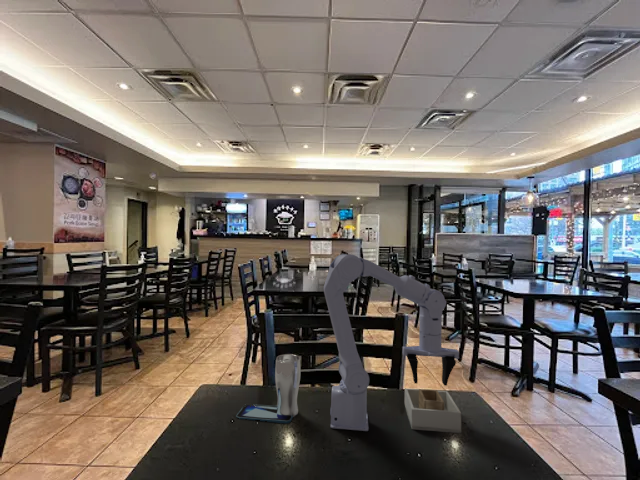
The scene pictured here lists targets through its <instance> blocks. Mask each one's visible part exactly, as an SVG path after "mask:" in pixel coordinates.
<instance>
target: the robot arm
mask: <svg viewBox="0 0 640 480" xmlns="http://www.w3.org/2000/svg"><path fill="white" fill-rule="evenodd" d="M359 277H372V278H374V279H376V280H378V281H380V282H382V283H384V284H386V285H389V286H391V287H393V288H394V291H395V294H397V295H398V296H400V297H402V298H404V299H406V300H408V301H410V302H412V303H414V304H415V305H418V306H419V329H418V330H419V333H418V334H419V335H418V336H419V341H418V345H413V346H412V345H411V346H405V345H403V346H402V355H403V356H404V357H406V358H407V361H408V363H409V366H410V369H411V373H412V379H413V383H414V384H418V364H419V360H418V357H419V356H421V357H435V358H441V362H442V363H441V367H442V368H441V369H442V371H441V372H442V373H441V382H442V384H443V386H448V382H449V378H450V375H451V373H452V370H453V369H454V367H455V366H456V363H457V361H456V360H457V359H459V360H460V352H459V350H458V349H457V348H456V349H455V348H454V349H453V348H447V347H442V333H443V332H442V330H443V329H442V327H443V325H442V324H443V322H442V319H443V317H442V316H443V311H444V309H445V308H446V305H447V300H446V299H445V296H444V295H443V293H442V292H441V291H439V290H437V289H433V288H430V284H427V283H423V282H420V281H419V280H417V279H416V277H415V276H413V275H411V274H408V275H407V274H404V275H402V276H398V275H396V273H395V274H394V273H393V272H392V271H389V270H388V269H386V268H384V267H382V266H380V265H378V264H376V263H375V262H373V261H371V260H368V259H365V258H363V257H359V256H357V255H355V254H346V253H342V254H338V255H337V256H336V257H335V258H334V259H333V260H332V262H330V264H329V268H328V272H327V275H326V278H325V282H324V285H323V294H324V298H325V301H326V305H327V309H328V314H329V318H330V323H331V326H332V331H333V334H334V338H335V342H336V346H337V350H338V359H339V364H338V373H339V374H340V376H341V380H340V382H339V384H338V385H332V387H331V399H330V400H331V401H330V402H331V403H330V408H329V409H330V412H329V413H330V414H329V415H330V428H331V429H337V430H351V431H360V432H362V431H363V432H368V431H369V417H368V412H367V411H368V410H367V408H368V407H367V403H368V402H367V397H368V394H367V393H368V390H367V389H368V387H369V384H370V375H369V374H368V372H367V371H366V369H365V368H364V366H363V363H362V359H361V358H360V354H359V353H358V349H357V345H356V341H355V337H354V332H353V329H352V324H351V320H350V317H349V312H348V308H347V304H346V300H345V296H344V292H345V291H346V289H347V288H348V286H349V285H350V284H351V283H352V282H354V281H355V280H357V279H358V278H359ZM417 356H418V357H417Z"/></svg>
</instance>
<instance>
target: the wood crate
mask: <svg viewBox="0 0 640 480" xmlns="http://www.w3.org/2000/svg"><path fill="white" fill-rule="evenodd" d="M418 389H419V409H432V410H444V401H443V399H442V398H441V396H440V394H439V393H438V391H439V390H437V389H423V388H418Z"/></svg>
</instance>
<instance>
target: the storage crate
mask: <svg viewBox="0 0 640 480" xmlns="http://www.w3.org/2000/svg"><path fill="white" fill-rule="evenodd" d="M419 389H420V388H404V408H405V411H406V415H407V419H408V421H409V425H410V427H411V428H410V429H411V430H417V431H429V432H443V433H454V434H462V412H461V410H460V408H459V407H458V406H457V404H456V403H455V401H454V399H453V397H452V396H451V395H450V393H449V391H447V390H437V391H438V393H439V394H440V396H441V398H442V399H443V401H444V410H432V409H419Z"/></svg>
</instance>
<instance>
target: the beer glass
mask: <svg viewBox="0 0 640 480" xmlns="http://www.w3.org/2000/svg"><path fill="white" fill-rule="evenodd" d="M274 370H275V372H274V376H275V377H274V381H275V386H276V387H275V388H276V389H275V390H276V394H277V404H276V406H277V409H276V413H277V414H278V415H280V416H292V415H293V418H295V417H297V415H298V414H299V407H298V393H299V387H300V384H301V383H300V381H301V357H300V356H299V355H296V354H293V353H285V354H280V355H278V356H276V360H275V369H274Z"/></svg>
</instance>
